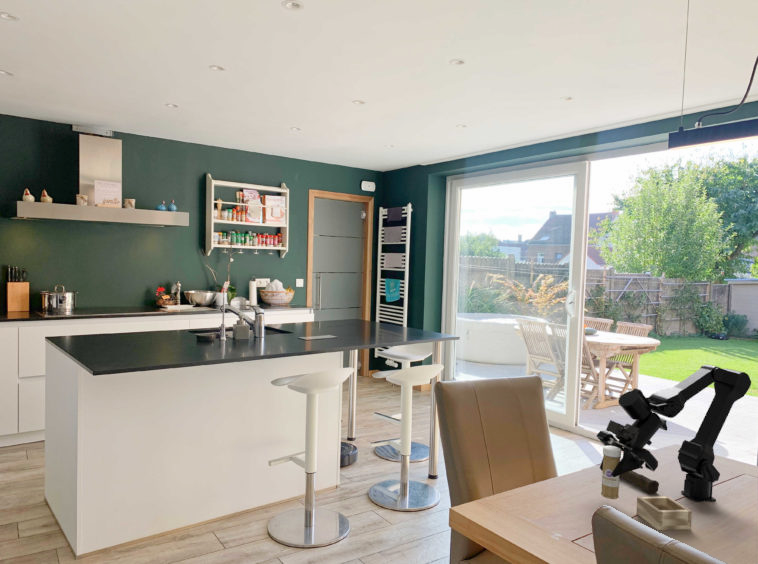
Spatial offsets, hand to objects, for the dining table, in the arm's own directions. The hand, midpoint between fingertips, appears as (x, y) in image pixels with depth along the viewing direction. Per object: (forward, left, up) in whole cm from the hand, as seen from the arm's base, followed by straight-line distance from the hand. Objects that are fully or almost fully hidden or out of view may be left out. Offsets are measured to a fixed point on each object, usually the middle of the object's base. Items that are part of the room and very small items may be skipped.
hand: (606, 472), depth 150 cm
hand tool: (-17, -16, -9) cm, 25 cm away
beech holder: (-10, +10, -9) cm, 17 cm away
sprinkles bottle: (-1, 0, -7) cm, 7 cm away
